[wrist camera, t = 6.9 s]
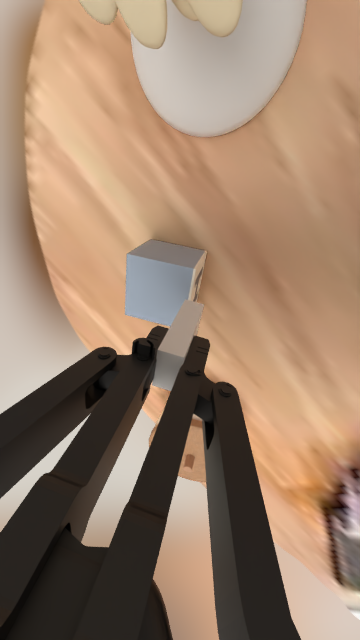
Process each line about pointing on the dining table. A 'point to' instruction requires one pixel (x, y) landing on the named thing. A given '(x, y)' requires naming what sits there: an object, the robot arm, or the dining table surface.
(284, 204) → the dining table surface
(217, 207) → the dining table surface
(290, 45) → the flower in vase
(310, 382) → the dining table surface
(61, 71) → the dining table surface
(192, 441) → the lidded jar
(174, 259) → the block
